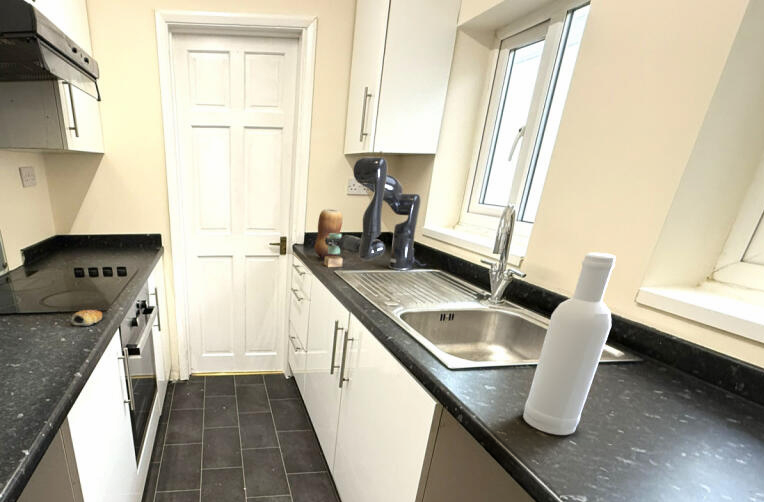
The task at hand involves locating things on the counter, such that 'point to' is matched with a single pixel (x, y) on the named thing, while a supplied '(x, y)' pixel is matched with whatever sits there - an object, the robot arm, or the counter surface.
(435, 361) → the counter surface
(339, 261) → the block
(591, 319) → the bottle
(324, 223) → the butternut squash
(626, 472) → the counter surface
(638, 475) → the counter surface
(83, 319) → the pastry
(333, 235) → the cup
